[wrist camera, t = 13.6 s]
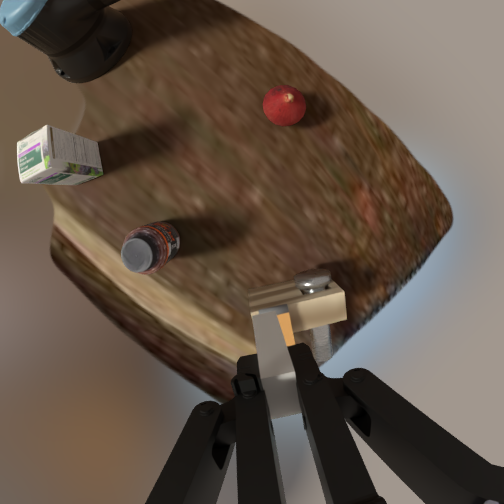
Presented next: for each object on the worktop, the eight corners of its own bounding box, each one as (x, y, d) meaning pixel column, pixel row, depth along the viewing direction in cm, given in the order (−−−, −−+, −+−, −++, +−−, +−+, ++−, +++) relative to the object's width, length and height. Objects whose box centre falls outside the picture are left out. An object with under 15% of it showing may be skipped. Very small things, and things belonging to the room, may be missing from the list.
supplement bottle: (187, 231, 42) (169, 243, 31) (172, 266, 43) (150, 290, 32) (152, 214, 41) (123, 221, 30) (137, 249, 42) (107, 267, 31)
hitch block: (248, 289, 44) (250, 312, 35) (324, 272, 44) (344, 291, 35) (253, 313, 45) (256, 340, 36) (327, 296, 45) (346, 319, 36)
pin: (291, 273, 41) (297, 284, 36) (324, 266, 41) (335, 275, 36) (303, 351, 44) (310, 368, 39) (333, 344, 44) (343, 359, 39)
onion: (253, 105, 39) (257, 86, 31) (286, 89, 38) (297, 68, 30) (273, 137, 40) (281, 124, 32) (306, 121, 39) (321, 105, 31)
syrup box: (75, 186, 39) (19, 186, 25) (70, 152, 38) (14, 142, 24) (104, 174, 39) (51, 169, 25) (98, 140, 38) (46, 122, 24)
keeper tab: (258, 308, 35) (258, 310, 34) (286, 302, 35) (287, 304, 34) (270, 365, 35) (271, 369, 34) (297, 359, 35) (298, 363, 34)
